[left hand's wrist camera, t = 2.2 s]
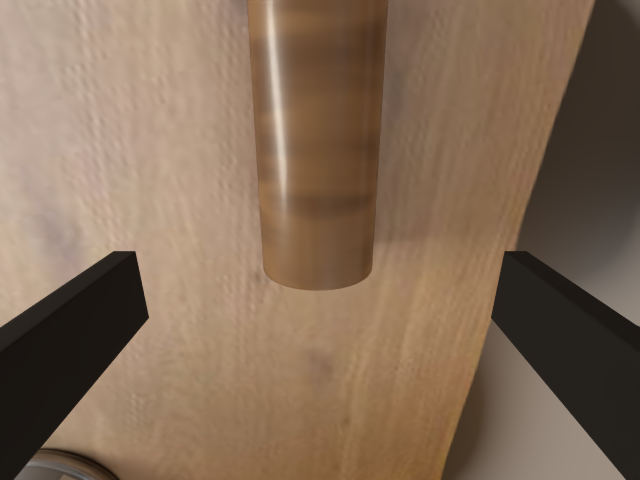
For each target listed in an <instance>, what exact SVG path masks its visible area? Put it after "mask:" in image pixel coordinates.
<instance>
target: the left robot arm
mask: <svg viewBox="0 0 640 480" xmlns="http://www.w3.org/2000/svg"><path fill="white" fill-rule="evenodd" d="M148 318H149V315H148V311H147V306H146V301H145V296H144V291H143V286H142V281H141V277H140V272H139V267H138V262H137V257H136V252H135V251H113V252H112V253H110V254H109V255H107V256H106V257H104V258H103V259H102V260H100V261H99V262H97V263H96V264H94V265H93V266H91V267H90V268H88V269H87V270H85V271H84V272H82V273H81V274H79V275H78V276H76V277H75V278H73V279H72V280H70V281H69V282H67V283H66V284H64V285H63V286H61V287H60V288H58V289H57V290H55V291H54V292H52V293H51V294H49V295H48V296H46V297H45V298H44V299H42V300H41V301H39V302H38V303H36V304H35V305H33V306H32V307H30V308H29V309H27V310H26V311H24V312H23V313H21V314H20V315H18V316H17V317H15V318H14V319H12V320H11V321H9V322H8V323H6V324H5V325H3V326H2V327H0V480H117V479H116V478H115V477H113V476H112V475H111V474H110V473H109V472H107V471H106V470H105V469H103V468H102V467H100V466H98V465H97V464H95V463H93V462H91V461H89V460H87V459H84V458H82V457H79V456H76V455H73V454H69V453H65V452H60V451H54V450H39V449H40V448H41V447H42V445H43V444H44V443H45V442H46V441H47V439H48V438H49V437H50V436H51V435H52V433H53V432H54V431H55V430H56V429H57V427H58V426H59V425H60V424H61V423H62V421H63V420H64V419H65V418H66V417H67V415H68V414H69V413H70V412H71V411H72V409H73V408H74V407H75V406H76V405H77V403H78V402H79V401H80V400H81V399H82V397H83V396H84V395H85V394H86V393H87V391H88V390H89V389H90V388H91V387H92V385H93V384H94V383H95V382H96V381H97V379H98V378H99V377H100V376H101V375H102V373H103V372H104V371H105V370H106V369H107V367H108V366H109V365H110V364H111V363H112V361H113V360H114V359H115V358H116V357H117V355H118V354H119V353H120V352H121V351H122V349H123V348H124V347H125V346H126V345H127V343H128V342H129V341H130V340H131V339H132V337H133V336H134V335H135V334H136V333H137V331H138V330H139V329H140V328H141V327H142V325H143V324H144V323H145V322H146V321H147V319H148ZM491 318H492V319H493V321H494V322H495V323H496V324H497V325H498V327H499V328H500V329H501V330H502V331H503V333H504V334H505V335H506V336H507V337H508V339H509V340H510V341H511V342H512V343H513V345H514V346H515V347H516V348H517V349H518V351H519V352H520V353H521V354H522V355H523V357H524V358H525V359H526V360H527V361H528V363H529V364H530V365H531V366H532V367H533V369H534V370H535V371H536V372H537V373H538V375H539V376H540V377H541V378H542V379H543V381H544V382H545V383H546V384H547V385H548V387H549V388H550V389H551V390H552V391H553V393H554V394H555V395H556V396H557V397H558V399H559V400H560V401H561V402H562V403H563V405H564V406H565V407H566V408H567V409H568V411H569V412H570V413H571V414H572V415H573V417H574V418H575V419H576V420H577V421H578V423H579V424H580V425H581V426H582V427H583V429H584V430H585V431H586V432H587V433H588V435H589V436H590V437H591V438H592V439H593V441H594V442H595V443H596V444H597V445H598V447H599V448H600V449H601V450H602V451H603V453H604V454H605V455H606V456H607V457H608V459H609V460H610V461H611V462H612V463H613V465H614V466H615V467H616V468H617V469H618V471H619V472H620V473H621V474H622V475H623V477H624V478H625V479H626V480H640V327H639V326H637V325H635V324H634V323H632V322H631V321H629V320H628V319H626V318H625V317H623V316H622V315H620V314H619V313H617V312H616V311H614V310H613V309H611V308H610V307H608V306H607V305H605V304H604V303H602V302H601V301H599V300H598V299H596V298H595V297H594V296H592V295H590V294H589V293H588V292H586V291H585V290H583V289H582V288H580V287H579V286H577V285H576V284H574V283H573V282H571V281H570V280H568V279H567V278H565V277H564V276H562V275H561V274H559V273H558V272H556V271H555V270H553V269H552V268H550V267H549V266H547V265H546V264H544V263H543V262H541V261H540V260H538V259H537V258H536V257H534V256H533V255H531V254H530V253H528V252H527V251H505V252H504V257H503V262H502V267H501V272H500V277H499V281H498V286H497V291H496V296H495V301H494V306H493V311H492V315H491Z"/></svg>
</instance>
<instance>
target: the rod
mask: <svg viewBox="0 0 640 480" xmlns="http://www.w3.org/2000/svg"><path fill="white" fill-rule="evenodd" d="M247 10H248V26H249V42H250V58H251V75H252V91H253V107H254V123H255V139H256V156H257V172H258V188H259V204H260V220H261V237H262V253H263V268H264V272H265V274H266V275H267V276H268V277H269V278H270V279H271V280H273V281H275V282H276V283H279V284H281V285H284V286H287V287H291V288H295V289H302V290H317V291H319V290H334V289H340V288H344V287H348V286H351V285H354V284H357V283H359V282H361V281H362V280H364V279H365V278H367V277H368V276H369V274H370V273H371V271H372V261H373V245H374V228H375V212H376V195H377V178H378V162H379V145H380V129H381V112H382V95H383V79H384V62H385V46H386V29H387V12H388V0H247Z"/></svg>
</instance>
